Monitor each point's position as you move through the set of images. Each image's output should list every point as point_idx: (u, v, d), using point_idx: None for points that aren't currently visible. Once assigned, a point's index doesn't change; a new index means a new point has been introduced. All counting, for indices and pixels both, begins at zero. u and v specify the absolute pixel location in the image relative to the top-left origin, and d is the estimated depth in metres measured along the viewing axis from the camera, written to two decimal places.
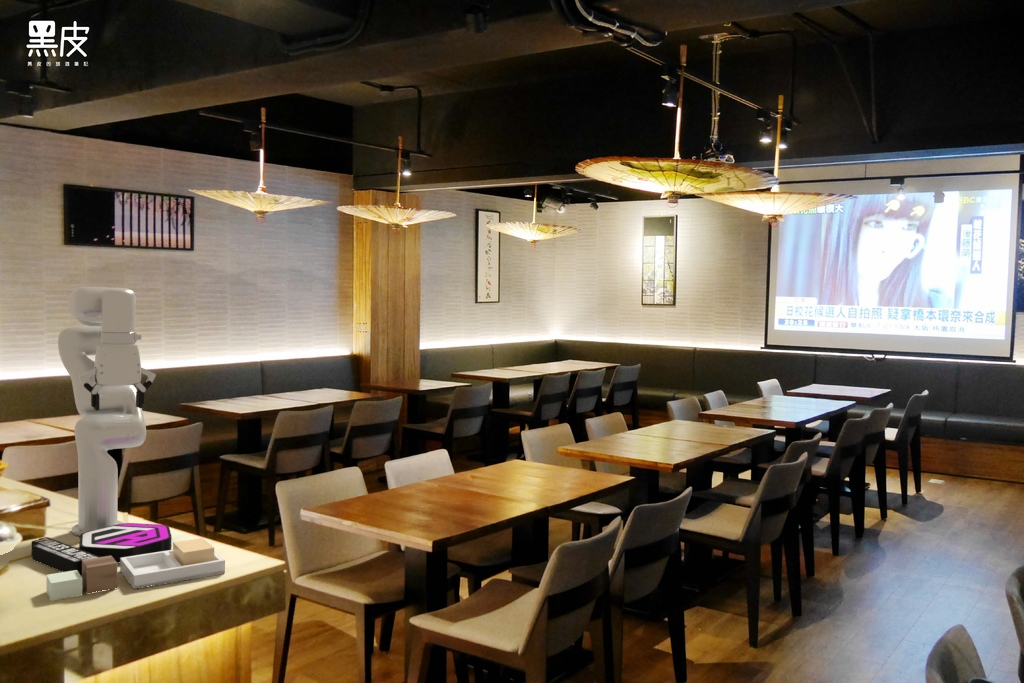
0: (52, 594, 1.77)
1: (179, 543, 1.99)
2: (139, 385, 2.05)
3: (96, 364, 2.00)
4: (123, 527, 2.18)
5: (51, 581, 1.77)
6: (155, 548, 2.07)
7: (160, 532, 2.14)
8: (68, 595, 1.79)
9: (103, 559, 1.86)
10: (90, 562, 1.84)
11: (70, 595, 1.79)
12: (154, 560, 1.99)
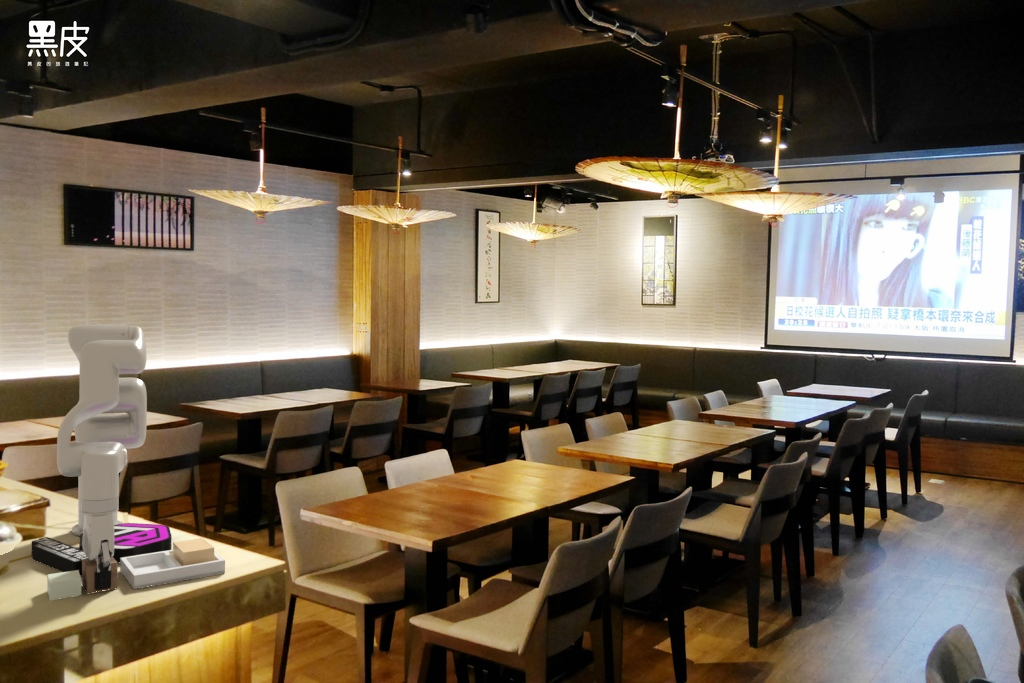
0: (51, 594, 1.77)
1: (179, 543, 1.99)
2: None
3: (107, 536, 1.81)
4: (123, 527, 2.18)
5: (50, 581, 1.77)
6: (155, 548, 2.07)
7: (160, 533, 2.14)
8: (67, 595, 1.78)
9: None
10: (91, 562, 1.84)
11: (69, 595, 1.79)
12: (154, 560, 1.99)
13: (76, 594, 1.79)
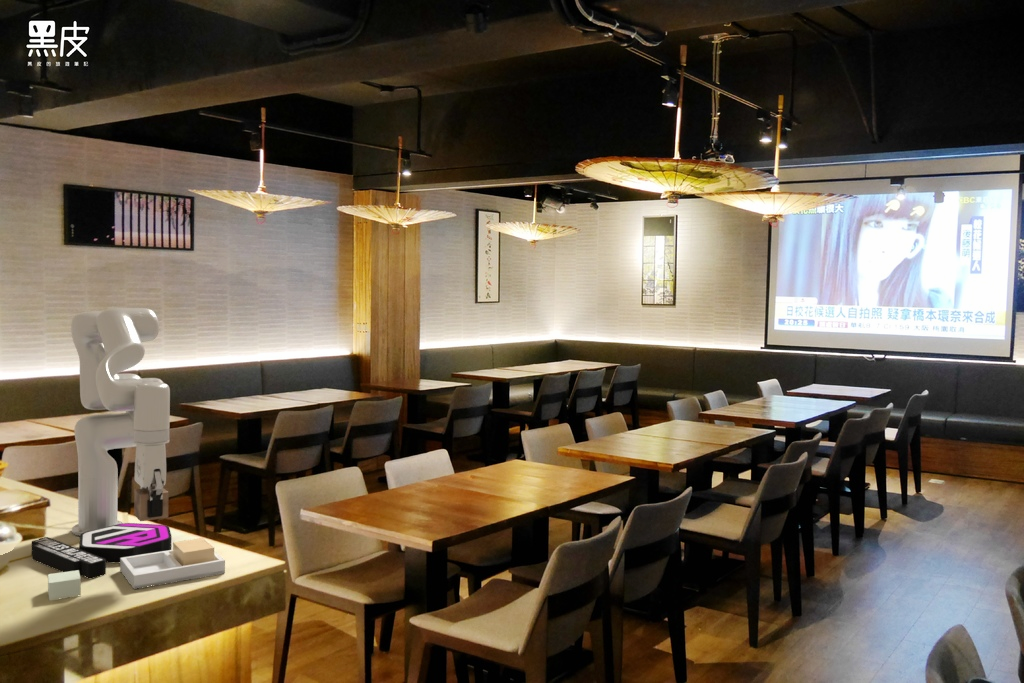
0: (50, 594, 1.77)
1: (179, 543, 1.99)
2: None
3: (159, 465, 1.88)
4: (123, 527, 2.18)
5: (50, 581, 1.77)
6: (155, 548, 2.07)
7: (160, 533, 2.14)
8: (67, 595, 1.78)
9: (154, 489, 1.93)
10: (143, 491, 1.91)
11: (68, 595, 1.79)
12: (154, 560, 1.99)
13: (75, 594, 1.79)
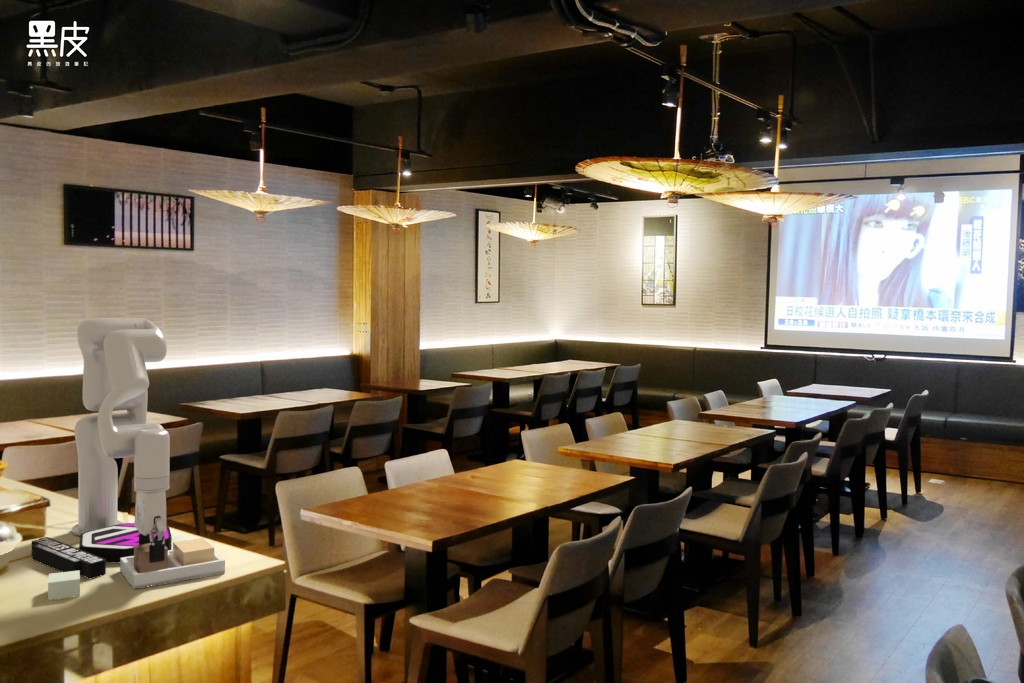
0: (49, 594, 1.77)
1: (179, 543, 1.99)
2: None
3: (159, 513, 1.88)
4: (123, 527, 2.18)
5: (49, 581, 1.78)
6: None
7: None
8: (66, 595, 1.78)
9: None
10: (142, 548, 1.92)
11: (68, 595, 1.78)
12: None
13: (75, 594, 1.79)
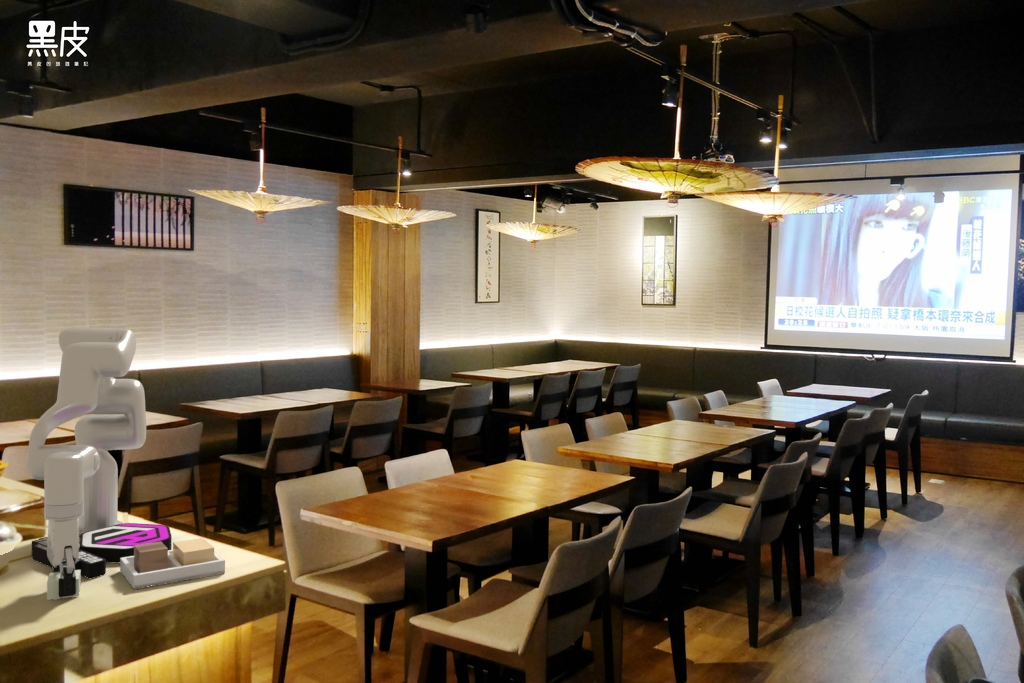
0: (48, 593, 1.77)
1: (179, 543, 1.99)
2: None
3: (71, 542, 1.76)
4: (123, 527, 2.18)
5: (49, 580, 1.78)
6: None
7: (160, 533, 2.14)
8: None
9: (154, 545, 1.94)
10: (142, 548, 1.92)
11: None
12: None
13: None
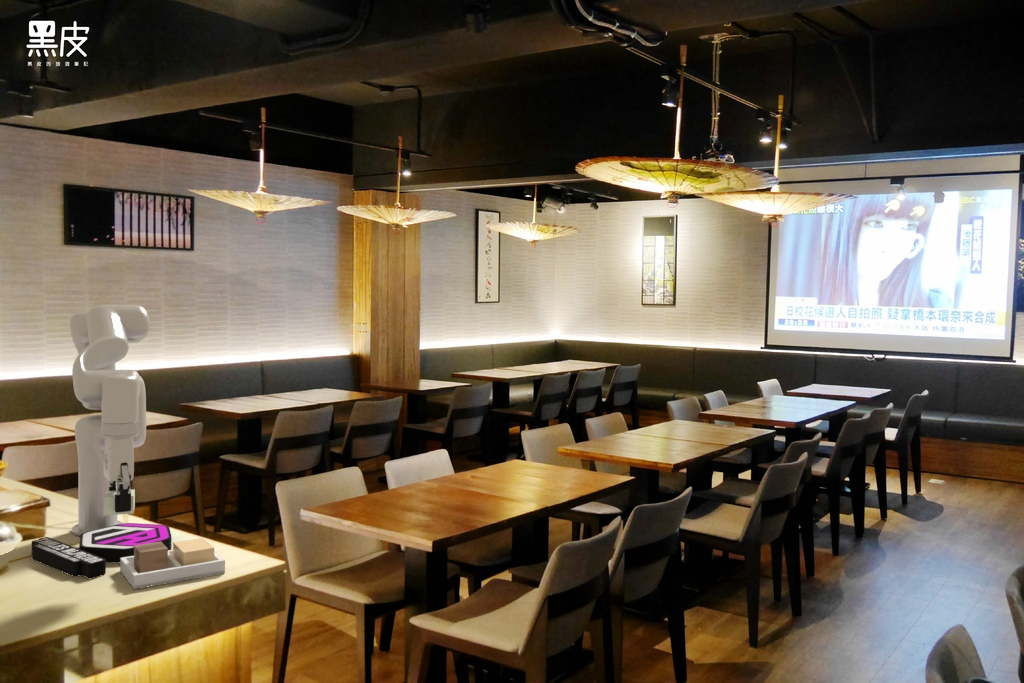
0: (105, 508, 1.83)
1: (179, 543, 1.99)
2: None
3: (127, 459, 1.83)
4: (123, 527, 2.18)
5: (105, 496, 1.84)
6: None
7: (160, 533, 2.14)
8: None
9: (154, 545, 1.94)
10: (142, 548, 1.92)
11: None
12: None
13: (129, 511, 1.85)
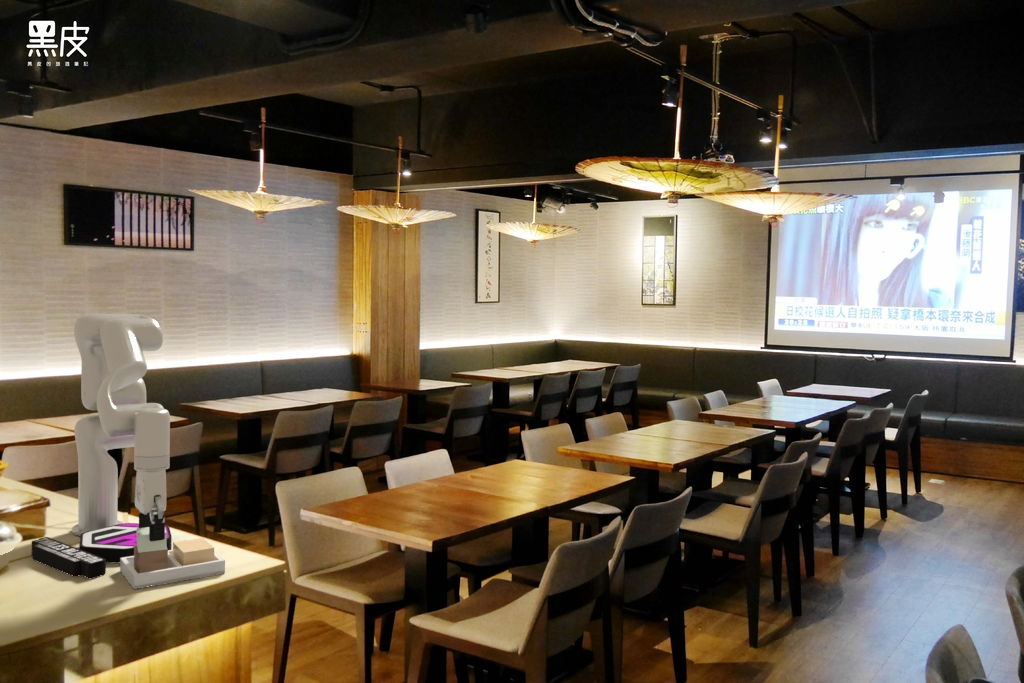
0: (139, 546, 1.89)
1: (179, 543, 1.99)
2: None
3: (160, 491, 1.88)
4: (123, 527, 2.18)
5: (139, 533, 1.89)
6: None
7: None
8: (154, 547, 1.90)
9: None
10: None
11: (155, 548, 1.90)
12: None
13: (162, 547, 1.91)
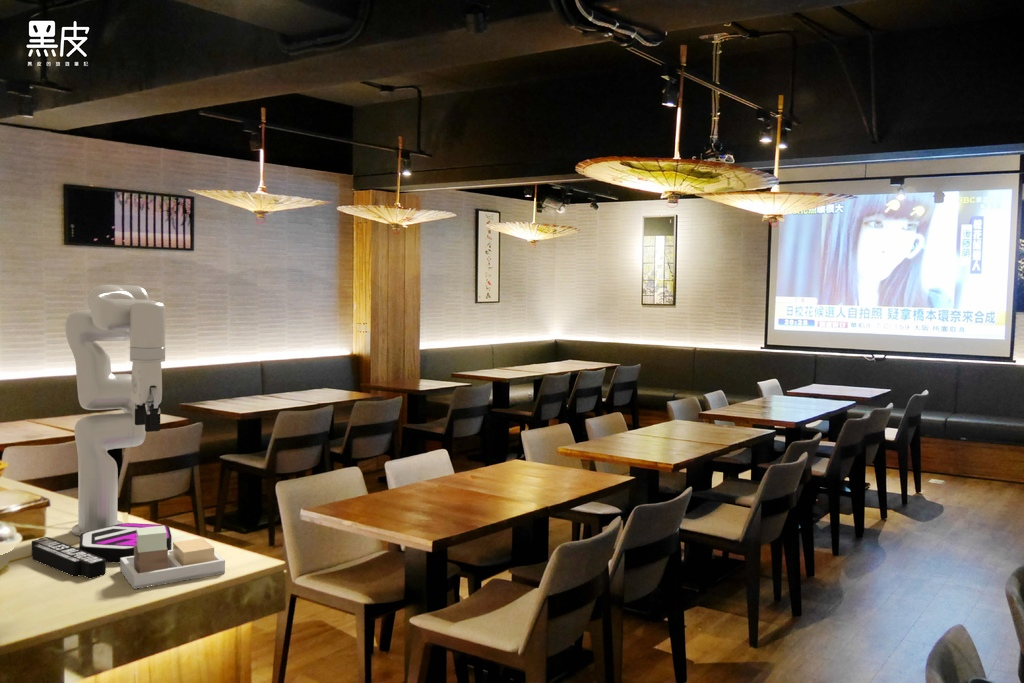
0: (139, 546, 1.89)
1: (179, 543, 1.99)
2: None
3: (155, 382, 1.89)
4: (123, 527, 2.18)
5: (139, 533, 1.89)
6: None
7: None
8: (154, 547, 1.90)
9: None
10: None
11: (155, 548, 1.90)
12: None
13: (162, 547, 1.91)
